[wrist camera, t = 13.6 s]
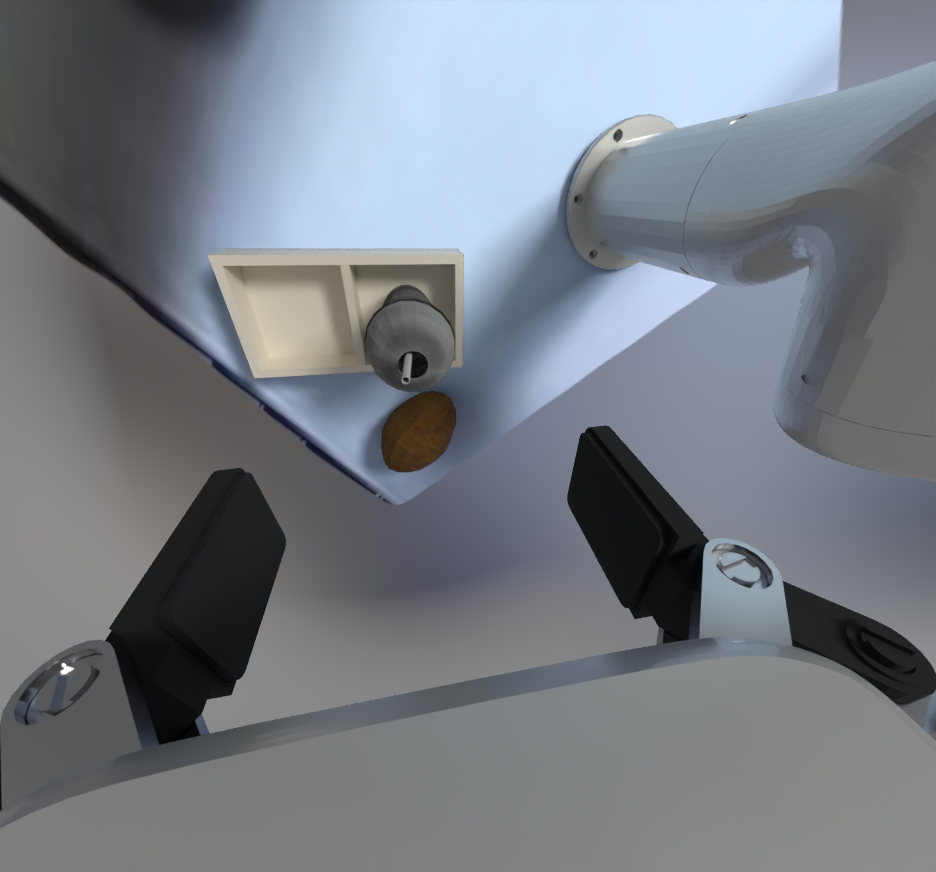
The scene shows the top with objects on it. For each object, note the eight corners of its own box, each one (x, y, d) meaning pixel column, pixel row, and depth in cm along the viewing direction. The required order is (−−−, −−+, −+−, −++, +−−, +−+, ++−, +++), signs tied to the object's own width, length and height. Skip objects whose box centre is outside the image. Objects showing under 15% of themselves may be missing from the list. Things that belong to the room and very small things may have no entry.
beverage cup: (396, 351, 39) (397, 461, 23) (357, 292, 35) (325, 376, 19) (452, 320, 38) (493, 412, 22) (419, 255, 34) (440, 312, 18)
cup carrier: (457, 248, 35) (463, 254, 31) (457, 353, 41) (462, 367, 38) (226, 248, 31) (207, 255, 28) (266, 362, 38) (254, 378, 35)
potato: (466, 395, 45) (477, 427, 39) (421, 461, 50) (424, 499, 44) (411, 367, 41) (414, 398, 35) (368, 441, 46) (364, 480, 40)
